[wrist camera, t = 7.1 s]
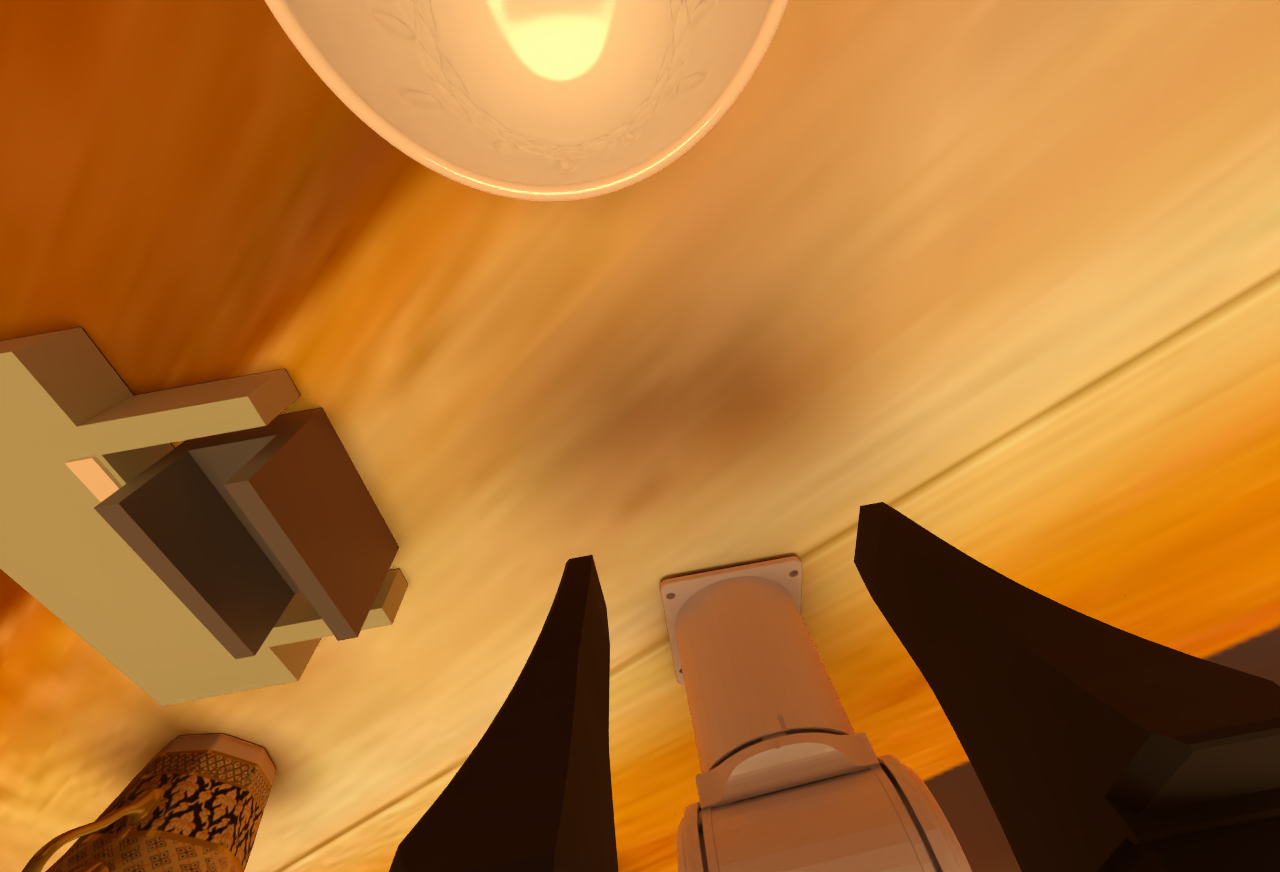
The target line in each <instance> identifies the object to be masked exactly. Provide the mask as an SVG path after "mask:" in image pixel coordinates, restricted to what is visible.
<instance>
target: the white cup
mask: <svg viewBox="0 0 1280 872" xmlns="http://www.w3.org/2000/svg"><path fill="white" fill-rule="evenodd" d="M264 1H265V2H266V4H267V5H268V7H269V9H270V10H271V12H272V13H273V15H274V17H275V18H276V20H277V21H278V23H279V24H280V26H281V27H282V29H283V30H284V31H285V33H286V34H287V36H288V37H289V39H290V40H291V41H292V43H293V44H294V45H295V47H296V48H297V50H298V51H299V52H300V53H301V55H302V56H303V57H304V59H305V60H306V61H307V62H308V64H309V65H310V66H311V67H312V69H313V70H314V71H315V72H316V73H317V75H318V76H319V77H320V78H321V79H322V80H323V81H324V83H325V84H326V85H327V86H328V87H329V88H330V89H331V90H332V91H333V92H334V94H335V95H336V96H337V97H338V98H339V99H340V100H341V101H342V102H343V103H344V104H345V105H346V106H347V107H348V108H349V109H350V110H351V111H352V112H353V113H354V114H356V115H357V116H358V117H359V118H360V119H361V120H362V121H363V122H364V123H366V124H367V125H368V126H369V127H370V128H371V129H373V130H374V131H375V132H376V133H377V134H379V135H380V136H381V137H382V138H384V139H385V140H386V141H388V142H389V143H390V144H392V145H393V146H394V147H396V148H397V149H399V150H400V151H401V152H403V153H404V154H406V155H407V156H409V157H411V158H412V159H414V160H415V161H417V162H419V163H420V164H422V165H424V166H426V167H427V168H429V169H431V170H433V171H435V172H437V173H439V174H441V175H443V176H445V177H447V178H449V179H451V180H453V181H456V182H458V183H461V184H463V185H466V186H468V187H471V188H474V189H477V190H480V191H483V192H487V193H490V194H494V195H498V196H503V197H507V198H513V199H519V200H528V201H543V202H557V201H572V200H580V199H587V198H592V197H597V196H601V195H605V194H608V193H612V192H615V191H618V190H621V189H623V188H626V187H628V186H631V185H633V184H636V183H638V182H640V181H642V180H644V179H646V178H648V177H650V176H652V175H653V174H655V173H657V172H659V171H660V170H662V169H663V168H665V167H667V166H668V165H670V164H671V163H673V162H674V161H675V160H677V159H678V158H679V157H681V156H682V155H683V154H685V153H686V152H687V151H688V150H690V149H691V148H692V147H693V146H694V145H695V144H697V143H698V142H699V141H700V140H701V139H702V138H703V137H704V136H705V135H706V134H707V133H708V132H709V131H710V130H711V129H712V128H713V127H714V126H715V125H716V124H717V123H718V121H719V120H720V119H721V118H722V117H723V116H724V114H725V113H726V112H727V111H728V110H729V108H730V107H731V106H732V105H733V103H734V102H735V101H736V99H737V98H738V97H739V95H740V94H741V92H742V91H743V89H744V88H745V86H746V85H747V83H748V82H749V80H750V79H751V77H752V76H753V74H754V72H755V71H756V69H757V67H758V66H759V64H760V62H761V60H762V59H763V57H764V55H765V53H766V51H767V49H768V47H769V45H770V43H771V41H772V39H773V37H774V35H775V33H776V31H777V28H778V26H779V24H780V21H781V19H782V17H783V14H784V12H785V9H786V7H787V4H788V1H789V0H264Z"/></svg>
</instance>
